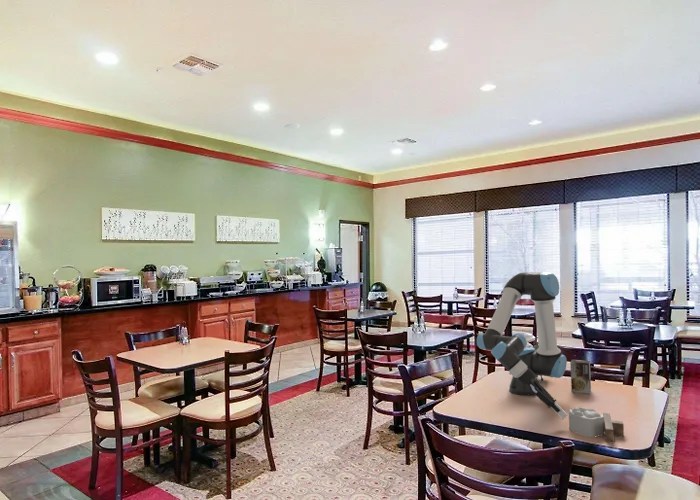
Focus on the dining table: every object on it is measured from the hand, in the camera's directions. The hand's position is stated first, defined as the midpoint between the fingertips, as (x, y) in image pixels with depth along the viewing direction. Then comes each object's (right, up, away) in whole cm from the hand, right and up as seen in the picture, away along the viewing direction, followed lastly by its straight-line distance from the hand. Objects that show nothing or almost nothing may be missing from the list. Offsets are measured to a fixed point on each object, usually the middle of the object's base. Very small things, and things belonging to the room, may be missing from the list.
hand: (565, 416), depth 188 cm
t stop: (+16, -4, -8) cm, 18 cm away
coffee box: (+33, -6, +50) cm, 60 cm away
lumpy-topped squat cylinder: (+6, -4, -4) cm, 9 cm away
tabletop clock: (+20, -6, +74) cm, 77 cm away
